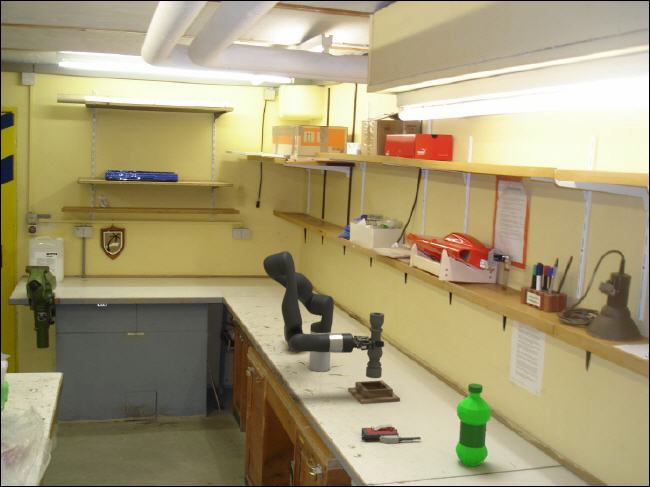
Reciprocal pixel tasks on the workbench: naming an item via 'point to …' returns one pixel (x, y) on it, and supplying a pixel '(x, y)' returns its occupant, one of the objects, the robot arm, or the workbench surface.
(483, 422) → the plastic bottle
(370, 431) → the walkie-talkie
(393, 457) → the workbench surface
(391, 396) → the walnut socket base
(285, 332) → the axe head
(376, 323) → the candle holder
